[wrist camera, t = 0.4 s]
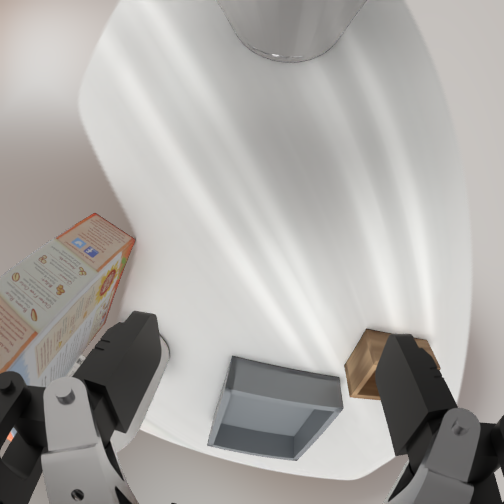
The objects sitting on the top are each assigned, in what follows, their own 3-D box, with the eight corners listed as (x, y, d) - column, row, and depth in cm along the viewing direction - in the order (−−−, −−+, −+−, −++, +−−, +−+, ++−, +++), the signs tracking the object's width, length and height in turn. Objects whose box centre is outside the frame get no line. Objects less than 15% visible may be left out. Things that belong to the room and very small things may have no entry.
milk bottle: (133, 310, 32) (46, 451, 14) (182, 351, 34) (126, 499, 16) (107, 338, 35) (34, 456, 17) (151, 373, 37) (98, 496, 19)
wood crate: (366, 328, 30) (376, 360, 25) (426, 340, 30) (440, 368, 26) (344, 365, 33) (349, 397, 28) (402, 373, 33) (412, 401, 28)
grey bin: (232, 355, 33) (225, 387, 29) (338, 377, 33) (343, 408, 29) (213, 419, 40) (207, 445, 35) (296, 435, 40) (296, 460, 36)
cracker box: (93, 208, 27) (-67, 327, 8) (138, 238, 28) (-5, 395, 9) (69, 298, 33) (-26, 411, 14) (106, 323, 34) (21, 452, 15)
